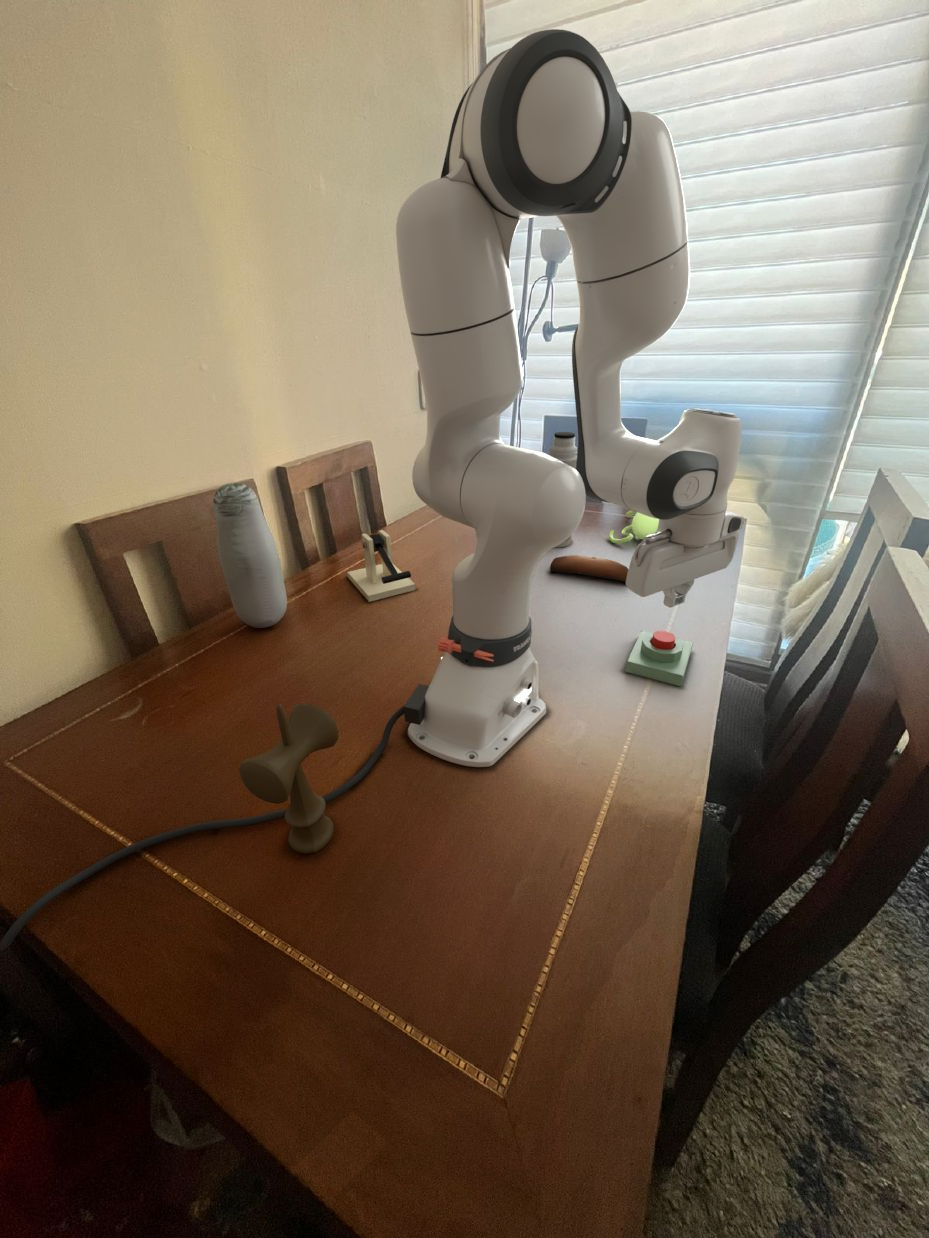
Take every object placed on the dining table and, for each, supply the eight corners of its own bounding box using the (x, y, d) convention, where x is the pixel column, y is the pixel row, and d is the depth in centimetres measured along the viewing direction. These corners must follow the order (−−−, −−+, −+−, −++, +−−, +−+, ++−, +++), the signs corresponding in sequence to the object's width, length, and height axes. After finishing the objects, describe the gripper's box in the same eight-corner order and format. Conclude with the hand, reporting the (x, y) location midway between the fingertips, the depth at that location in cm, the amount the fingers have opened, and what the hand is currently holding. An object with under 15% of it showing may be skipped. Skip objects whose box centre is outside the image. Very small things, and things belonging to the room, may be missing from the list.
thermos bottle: (551, 549, 134) (560, 437, 120) (535, 539, 140) (541, 431, 126) (577, 544, 137) (588, 434, 122) (560, 534, 143) (568, 428, 129)
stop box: (680, 686, 84) (685, 666, 82) (625, 671, 87) (628, 652, 85) (690, 653, 92) (695, 634, 90) (639, 640, 96) (642, 622, 94)
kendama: (356, 812, 63) (332, 682, 53) (309, 881, 56) (271, 745, 45) (314, 798, 65) (284, 670, 55) (264, 864, 57) (218, 729, 47)
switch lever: (410, 580, 109) (411, 572, 107) (383, 586, 107) (384, 578, 105) (386, 540, 116) (387, 531, 114) (361, 545, 113) (361, 537, 111)
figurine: (694, 524, 148) (698, 505, 146) (676, 556, 129) (681, 535, 126) (629, 514, 157) (632, 496, 154) (604, 543, 137) (606, 523, 134)
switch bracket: (415, 589, 115) (412, 540, 109) (369, 602, 110) (362, 550, 104) (391, 567, 125) (387, 521, 120) (348, 577, 121) (341, 530, 115)
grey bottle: (236, 618, 105) (197, 481, 91) (287, 606, 109) (258, 474, 95) (242, 641, 97) (201, 496, 83) (296, 627, 101) (267, 487, 87)
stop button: (671, 652, 86) (673, 644, 85) (649, 647, 87) (651, 638, 86) (675, 642, 88) (677, 633, 88) (653, 637, 90) (655, 628, 89)
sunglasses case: (632, 569, 121) (634, 551, 116) (627, 593, 118) (629, 577, 113) (557, 558, 127) (555, 541, 122) (550, 582, 124) (548, 565, 119)
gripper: (656, 545, 70) (641, 631, 78) (752, 516, 79) (731, 595, 86) (622, 531, 75) (611, 613, 82) (717, 505, 83) (699, 581, 91)
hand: (673, 604), depth 84 cm, fingers closed
